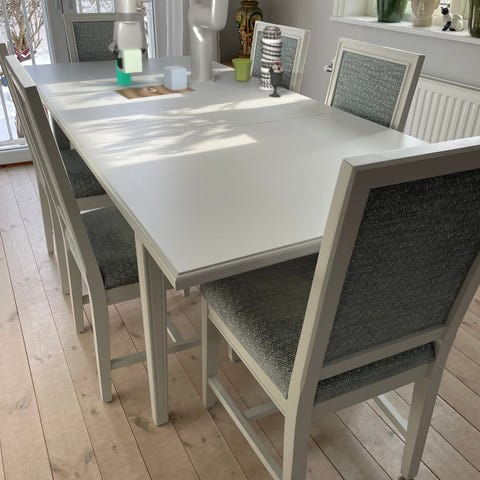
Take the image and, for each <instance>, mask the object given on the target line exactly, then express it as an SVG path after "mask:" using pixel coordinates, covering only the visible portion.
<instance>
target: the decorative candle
mask: <svg viewBox="0 0 480 480" xmlns="http://www.w3.org/2000/svg"><path fill="white" fill-rule="evenodd" d="M262 32H263V33H262V40H260V44H261V45H260V48H261V49H260V55H259V56H260V61H261V67H260V71H259V73H260V75H259V77H260V78H259V83H258V85H259V87H258V88H259V89H260V90H262V91H274V87H273V86H272V85H271V80H270V73H269V71H268V70H270V69H269V67H270V66H271V67H272V66H273V65H274V64H275V63H276V62H278V61H279V60H281V59H280V58H282V50H280V49H282V48H283V46H282V45H283V42H282V32H283V31H282V30H281V28H280V27H279V26H274V25H269V26H265V28H264V29H263V30H262ZM278 64H280V61H279V62H278ZM277 90H279V86H278V87H277Z"/></svg>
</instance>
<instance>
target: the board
mask: <svg viewBox="0 0 480 480" xmlns="http://www.w3.org/2000/svg"><path fill="white" fill-rule="evenodd" d="M196 91H197V90H196V89H194V88H191V87H189V86H187V88H186V89H178V90H171V89H168V88H166V87H164V84H159V85H151V86H141V87H139V86H138V87H132V88H124V89H116V90H113V92H115V93H116V94H119V95H120V96H122V97H124V98H125V99H127V100H134V99H143V98H148V97H149V98H150V97H151V98H152V97H156V96H166V95H173V94H175V95H176V94H181V93H188V92H196Z"/></svg>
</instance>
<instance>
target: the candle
mask: <svg viewBox="0 0 480 480" xmlns="http://www.w3.org/2000/svg"><path fill="white" fill-rule="evenodd" d="M115 71H116V79H117V81H116V82H117V85H120V86H128V85H132V73H124V72H122V71H120V70H118V66H117V59H115Z"/></svg>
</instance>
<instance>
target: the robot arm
mask: <svg viewBox="0 0 480 480" xmlns="http://www.w3.org/2000/svg"><path fill="white" fill-rule="evenodd" d="M114 1H115V13H116V15H115V16H116V21H114V22H113V40H112V42H111V43H110V44H109V45H108V46H107V49H108V50H109V51H110V52H111V53H112V54H113V55H114V56H115V58H116V60H117V66H118V68H120V69H123V62H122V58H121V55H122V50H136V49H140V50H141V55H142V57H143V56H144V54H145V52H146V51H147V50H148V48H149V46H150V45H149V44H148V43H147V42H146V41H145V40H144V39H143V38H142V37H143V36H142V29H141V25H140V22H139V21H138V19H140V18H141V14H140V13H138V9H137V8H138V7H137V2H138V3H139V2H141V3H151V2H153V1H154V0H114ZM201 1H203V2H210V4H201V3H197V4H194V5H191V7H189V9H188V12H187V21H188V26H189V27H188V28H189V35H190V39H189V40H190V76H187V81H190V82H194V83H210V82H213V83H216V78H215V77H216V76H217V77H218V76H222V71H221V70H217V71H216V70H214V69H213V35H212V32H211V31H213V32H220V31H222V30H224V28H225V26H226V24H227V18H228V11H229V9H228V8H229V0H201Z"/></svg>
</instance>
